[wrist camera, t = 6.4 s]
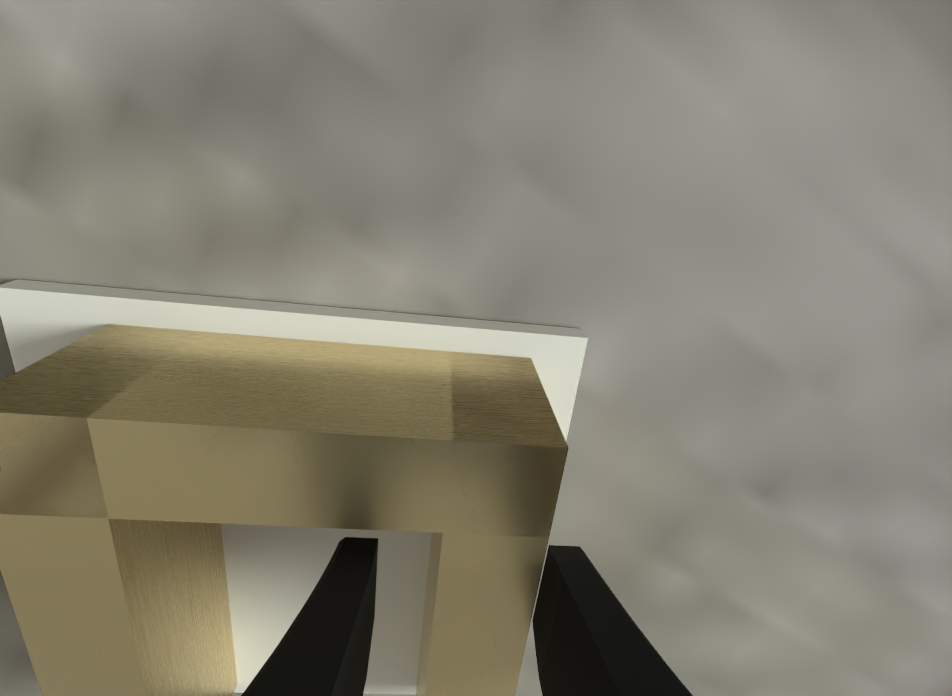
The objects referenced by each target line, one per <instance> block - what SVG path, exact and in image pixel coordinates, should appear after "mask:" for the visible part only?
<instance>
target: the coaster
mask: <svg viewBox="0 0 952 696" xmlns="http://www.w3.org/2000/svg"><path fill="white" fill-rule="evenodd" d="M0 315H1V319H2V323H3V327H4V331H5V334H6V338H7V342H8V346H9V349H10V353H11V357H12V361H13V364H14V368H15V372H18V371H20V370H22V369H24V368H26V367H27V366H29V365H31V364H33V363H35V362H37V361H39V360H41V359H43V358H44V357H46V356H48V355H50V354H52V353H54V352H56V351H58V350H60V349H61V348H63V347H65V346H67V345H69V344H71V343H73V342H75V341H77V340H78V339H80V338H82V337H84V336H86V335H88V334H90V333H92V332H94V331H95V330H97V329H99V328H101V327H103V326H105V325H107V324H115V325H128V326H140V327H153V328H165V329H178V330H190V331H202V332H215V333H227V334H240V335H252V336H265V337H277V338H290V339H302V340H314V341H327V342H339V343H352V344H364V345H377V346H389V347H402V348H414V349H426V350H439V351H451V352H464V353H476V354H489V355H501V356H513V357H526V358H531V359H532V361H533V364H534V366H535V369H536V371H537V373H538V376H539V378H540V381H541V383H542V385H543V388H544V390H545V393H546V395H547V398H548V400H549V402H550V405H551V407H552V410H553V412H554V414H555V417H556V419H557V422H558V424H559V426H560V429H561V431H562V434H563V436H564V438H565V441H566V439H567V434H568V430H569V425H570V420H571V416H572V411H573V406H574V402H575V397H576V392H577V388H578V383H579V378H580V374H581V369H582V364H583V360H584V355H585V350H586V345H587V341H588V337H587V336H586V335H585V333H584V332H583V331H582V329H579V328H568V327H556V326H545V325H534V324H522V323H511V322H499V321H488V320H477V319H465V318H454V317H442V316H431V315H419V314H408V313H397V312H385V311H374V310H362V309H351V308H340V307H328V306H317V305H305V304H294V303H282V302H271V301H260V300H248V299H237V298H225V297H214V296H203V295H191V294H180V293H168V292H157V291H146V290H134V289H123V288H111V287H100V286H88V285H77V284H66V283H54V282H43V281H31V280H20V279H17V280H14V281H11V282H7V283H4V284H1V285H0ZM221 531H222V540H223V550H224V559H225V569H226V578H227V588H228V597H229V607H230V616H231V626H232V635H233V645H234V654H235V664H236V673H237V686H236V689H235V691H234V693H244V691H245V690H246V689H247V687H248V686H249V684H250V683H251V682H252V680H253V679H254V678H255V676H256V675H257V673H258V672H259V671H260V669H261V668H262V667H263V665H264V664H265V662H266V661H267V660H268V658H269V657H270V656H271V654H272V653H273V651H274V650H275V648H276V647H277V646H278V644H279V643H280V641H281V640H282V638H283V637H284V635H285V634H286V632H287V630H288V629H289V627H290V626H291V624H292V623H293V621H294V620H295V618H296V617H297V615H298V614H299V612H300V611H301V609H302V607H303V606H304V604H305V603H306V601H307V600H308V598H309V596H310V595H311V593H312V591H313V590H314V588H315V586H316V585H317V583H318V581H319V580H320V578H321V576H322V574H323V573H324V571H325V569H326V567H327V565H328V563H329V561H330V560H331V558H332V556H333V554H334V552H335V550H336V547H337V545H338V543H339V541H341V540H342V539H343V538H345V537H359V538H378V556H377V576H376V597H375V617H374V625H373V632H372V640H371V648H370V656H369V663H368V671H367V678H366V683H365V687H364V692H363V694H416V684H417V675H418V665H419V655H420V645H421V635H422V625H423V615H424V605H425V595H426V586H427V576H428V566H429V556H430V546H431V536H432V532H409V531H385V530H362V529H339V528H315V527H292V526H269V525H246V524H222V523H221Z"/></svg>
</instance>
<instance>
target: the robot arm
mask: <svg viewBox="0 0 952 696" xmlns="http://www.w3.org/2000/svg"><path fill="white" fill-rule="evenodd" d="M377 556H378V538H359V537H345V538H343V539H342V540H341V541H339V543H338V545H337V547H336V550H335V552H334V554H333V556H332V558H331V560H330V561H329V563H328V565H327V567H326V569H325V571H324V573H323V574H322V576H321V578H320V580H319V581H318V583H317V585H316V586H315V588H314V590H313V591H312V593H311V595H310V596H309V598H308V600H307V601H306V603H305V604H304V606H303V607H302V609H301V611H300V612H299V614H298V615H297V617H296V618H295V620H294V621H293V623H292V624H291V626H290V627H289V629H288V630H287V632H286V634H285V635H284V637H283V638H282V640H281V641H280V643H279V644H278V646H277V647H276V648H275V650H274V651H273V653H272V654H271V656H270V657H269V658H268V660H267V661H266V662H265V664H264V665H263V667H262V668H261V669H260V671H259V672H258V673H257V675H256V676H255V678H254V679H253V680H252V682H251V683H250V684H249V686H248V687H247V689H246V690H245V691H244V693H243V694H242V695H241V696H363V692H364V687H365V683H366V678H367V671H368V663H369V656H370V648H371V640H372V632H373V625H374V617H375V597H376V576H377ZM533 629H534V639H535V648H536V656H537V664H538V672H539V680H540V685H541V689H542V694H543V696H693V695H692V694H691V693H690V692H689V691H688V689H687V688H686V687H685V686H684V685H683V684H682V682H681V681H680V680H679V679H678V677H677V676H676V675H675V674H674V672H673V671H672V670H671V669H670V668H669V666H668V665H667V664H666V663H665V661H664V660H663V659H662V658H661V656H660V655H659V654H658V652H657V651H656V650H655V648H654V647H653V646H652V645H651V643H650V642H649V641H648V639H647V638H646V637H645V636H644V634H643V633H642V632H641V630H640V629H639V628H638V626H637V625H636V624H635V622H634V621H633V620H632V618H631V617H630V616H629V614H628V613H627V612H626V610H625V609H624V608H623V606H622V605H621V603H620V602H619V601H618V599H617V598H616V597H615V595H614V594H613V592H612V591H611V590H610V588H609V587H608V585H607V584H606V583H605V581H604V580H603V578H602V577H601V575H600V574H599V573H598V571H597V570H596V568H595V567H594V566H593V564H592V563H591V561H590V560H589V558H588V557H587V556H586V554H585V553H584V551H583V550H582V549H581V548H580V547H576V546H552V545H549V548H548V553H547V557H546V562H545V566H544V571H543V575H542V580H541V584H540V589H539V594H538V598H537V603H536V607H535V612H534V616H533Z"/></svg>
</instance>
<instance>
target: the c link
mask: <svg viewBox="0 0 952 696" xmlns="http://www.w3.org/2000/svg"><path fill="white" fill-rule="evenodd" d="M567 452H568V446H567V443H566V441H565V438H564V436H563V434H562V431H561V429H560V426H559V424H558V422H557V419H556V417H555V414H554V412H553V410H552V407H551V405H550V402H549V400H548V398H547V395H546V393H545V390H544V388H543V385H542V383H541V381H540V378H539V376H538V373H537V371H536V369H535V366H534V364H533V361H532V359H531V358H526V357H513V356H501V355H489V354H476V353H464V352H451V351H439V350H426V349H414V348H402V347H389V346H377V345H364V344H352V343H339V342H327V341H314V340H302V339H290V338H277V337H265V336H252V335H240V334H227V333H215V332H202V331H190V330H178V329H165V328H153V327H140V326H128V325H115V324H107V325H105V326H103V327H101V328H99V329H97V330H95V331H94V332H92V333H90V334H88V335H86V336H84V337H82V338H80V339H78V340H77V341H75V342H73V343H71V344H69V345H67V346H65V347H63V348H61V349H60V350H58V351H56V352H54V353H52V354H50V355H48V356H46V357H44V358H43V359H41V360H39V361H37V362H35V363H33V364H31V365H29V366H27V367H26V368H24V369H22V370H20V371H18V372H16V373H14V374H12V375H10V376H9V377H7V378H5V379H3V380H1V381H0V570H1V573H2V576H3V579H4V582H5V585H6V588H7V591H8V594H9V597H10V600H11V603H12V606H13V609H14V612H15V615H16V618H17V621H18V624H19V627H20V630H21V633H22V636H23V639H24V642H25V645H26V648H27V651H28V654H29V657H30V660H31V663H32V666H33V669H34V672H35V675H36V678H37V681H38V684H39V687H40V690H41V693H42V696H233V694H234V691H235V689H236V686H237V673H236V664H235V654H234V645H233V635H232V626H231V616H230V607H229V597H228V588H227V578H226V569H225V559H224V550H223V540H222V531H221V523H222V524H246V525H269V526H292V527H315V528H339V529H362V530H385V531H409V532H432V536H431V546H430V556H429V566H428V576H427V586H426V595H425V605H424V615H423V625H422V635H421V645H420V655H419V665H418V675H417V684H416V696H515V691H516V687H517V682H518V677H519V673H520V668H521V664H522V659H523V654H524V650H525V645H526V641H527V636H528V631H529V627H530V622H531V618H532V613H533V608H534V604H535V599H536V595H537V590H538V585H539V581H540V576H541V572H542V567H543V562H544V558H545V553H546V549H547V544H548V539H549V535H550V530H551V526H552V521H553V516H554V512H555V507H556V503H557V498H558V493H559V489H560V484H561V480H562V475H563V470H564V466H565V461H566V457H567Z"/></svg>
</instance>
